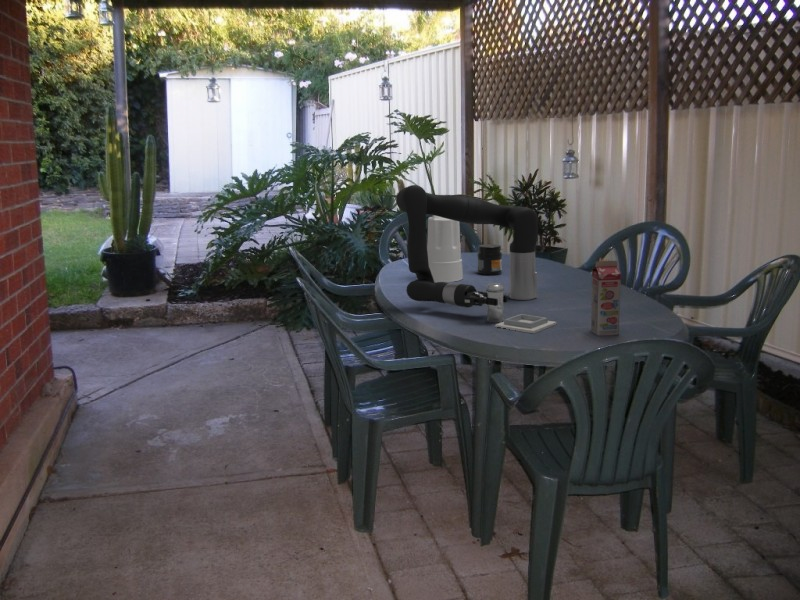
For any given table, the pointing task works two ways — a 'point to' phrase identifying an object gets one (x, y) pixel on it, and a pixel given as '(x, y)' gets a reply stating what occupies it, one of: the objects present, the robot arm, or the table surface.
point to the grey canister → (496, 311)
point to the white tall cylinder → (444, 249)
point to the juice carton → (605, 298)
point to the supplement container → (489, 259)
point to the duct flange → (526, 323)
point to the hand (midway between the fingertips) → (502, 300)
